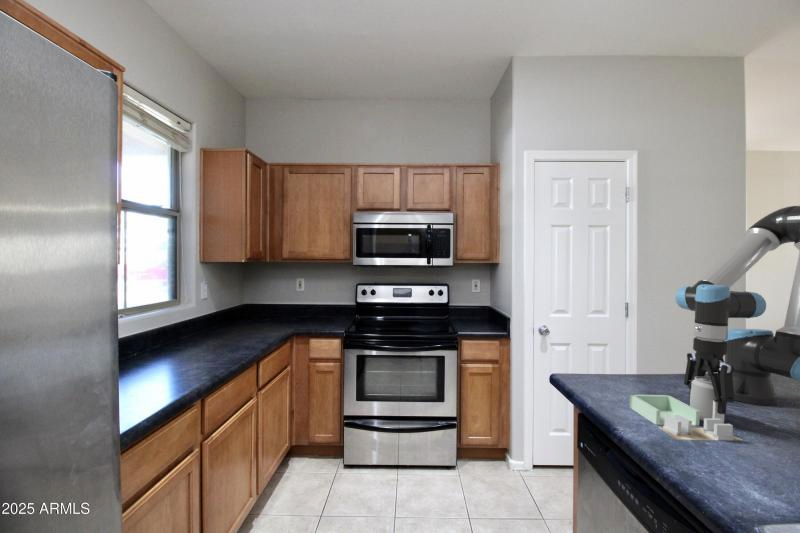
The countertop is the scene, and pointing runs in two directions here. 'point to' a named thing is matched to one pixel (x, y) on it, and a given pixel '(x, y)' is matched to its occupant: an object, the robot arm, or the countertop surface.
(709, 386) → the can
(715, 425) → the clip
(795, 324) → the robot arm
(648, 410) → the green open box
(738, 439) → the board
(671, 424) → the clip
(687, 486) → the countertop surface
